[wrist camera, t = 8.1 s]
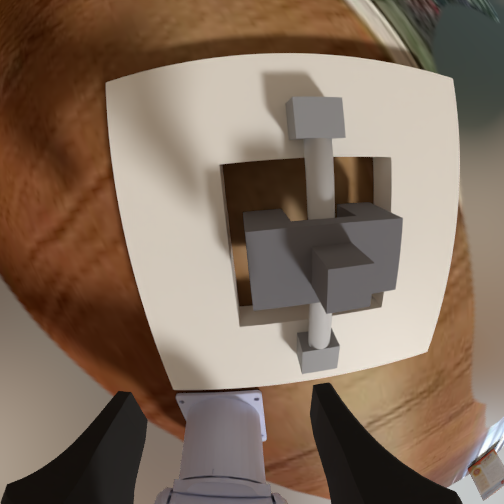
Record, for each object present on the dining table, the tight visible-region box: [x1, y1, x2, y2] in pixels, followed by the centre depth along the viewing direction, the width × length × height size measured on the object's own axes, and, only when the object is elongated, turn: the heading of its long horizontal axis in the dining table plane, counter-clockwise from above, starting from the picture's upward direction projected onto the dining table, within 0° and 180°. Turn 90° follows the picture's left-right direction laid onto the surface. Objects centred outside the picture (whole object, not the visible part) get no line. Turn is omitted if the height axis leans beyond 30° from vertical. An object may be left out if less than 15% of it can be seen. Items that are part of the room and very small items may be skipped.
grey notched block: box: [243, 202, 403, 314], centre depth 14 cm, size 4×8×6 cm, turn 95°
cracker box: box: [468, 449, 504, 500], centre depth 46 cm, size 14×6×21 cm, turn 132°
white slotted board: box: [106, 53, 460, 390], centre depth 16 cm, size 22×22×4 cm
